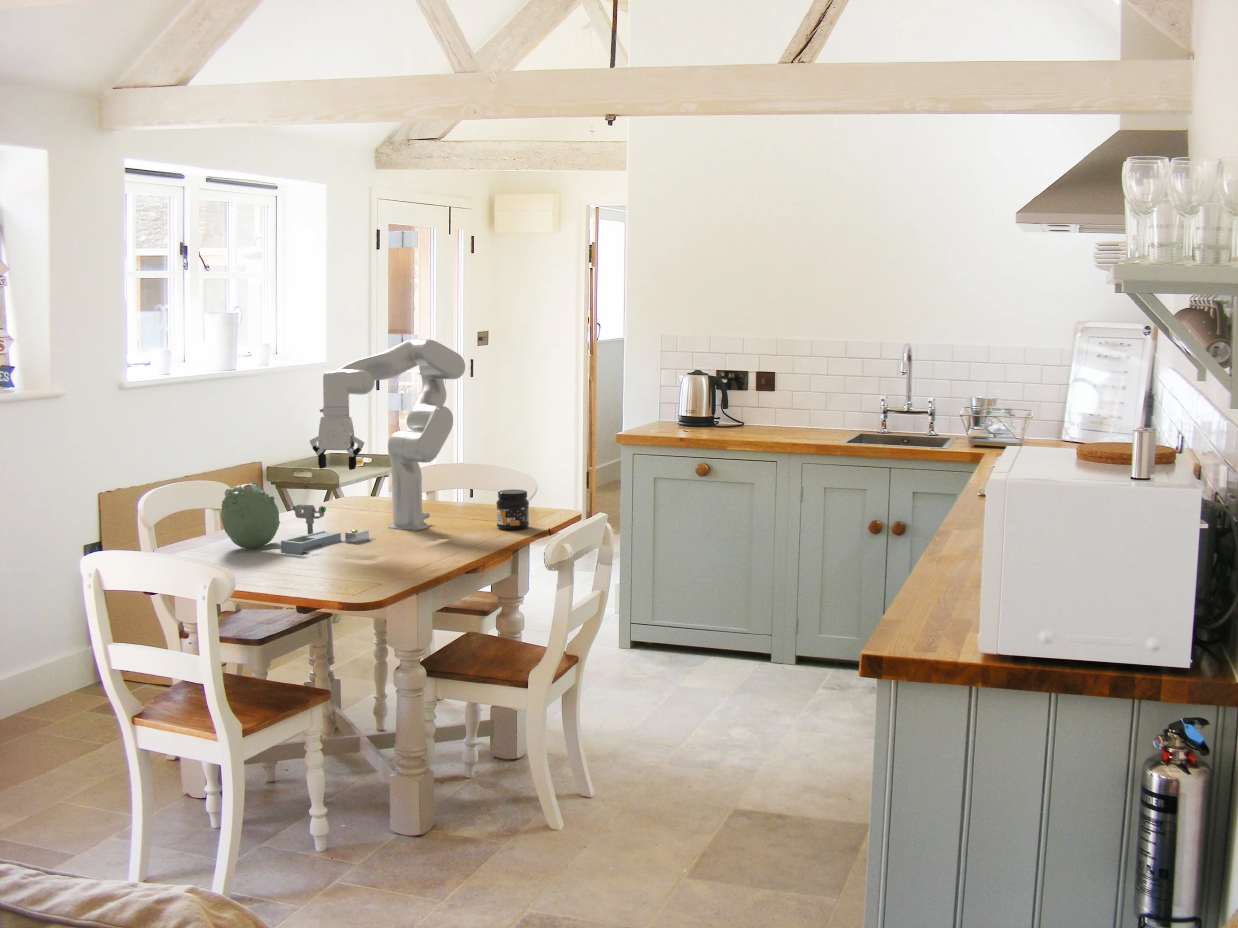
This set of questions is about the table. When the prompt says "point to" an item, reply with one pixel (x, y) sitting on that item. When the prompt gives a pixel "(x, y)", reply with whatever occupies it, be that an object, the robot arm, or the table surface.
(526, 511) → the supplement container
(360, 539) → the grey small block
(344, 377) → the robot arm
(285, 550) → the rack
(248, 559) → the table surface
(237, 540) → the green rounded lump
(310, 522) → the mechanical component
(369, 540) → the flat grey plate
